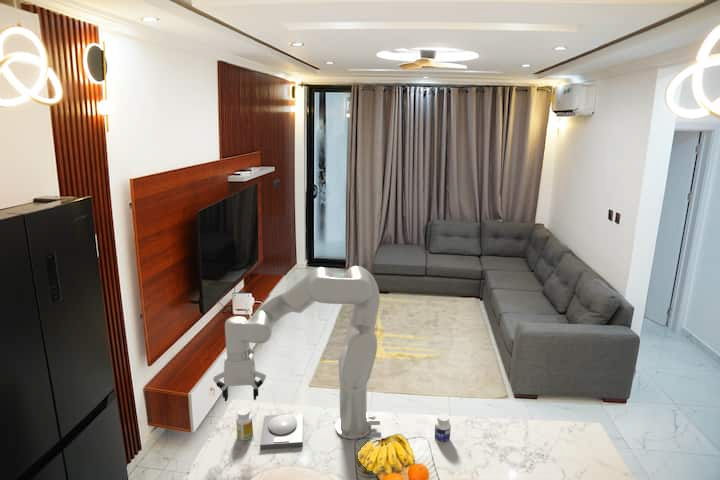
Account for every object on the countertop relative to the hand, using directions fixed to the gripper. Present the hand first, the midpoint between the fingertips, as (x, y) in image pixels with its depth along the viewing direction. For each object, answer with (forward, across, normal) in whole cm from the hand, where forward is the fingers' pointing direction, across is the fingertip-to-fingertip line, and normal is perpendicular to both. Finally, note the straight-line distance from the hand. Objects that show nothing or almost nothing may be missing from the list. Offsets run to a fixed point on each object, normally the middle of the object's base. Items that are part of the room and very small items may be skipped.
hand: (240, 398), depth 168 cm
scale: (+15, -14, 0) cm, 20 cm away
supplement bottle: (+15, -1, 0) cm, 15 cm away
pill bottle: (+14, -69, +9) cm, 71 cm away
